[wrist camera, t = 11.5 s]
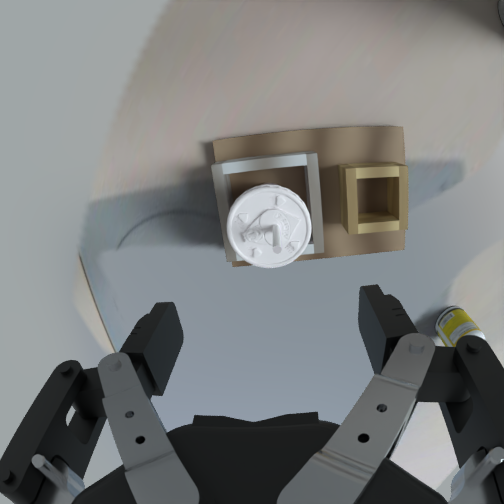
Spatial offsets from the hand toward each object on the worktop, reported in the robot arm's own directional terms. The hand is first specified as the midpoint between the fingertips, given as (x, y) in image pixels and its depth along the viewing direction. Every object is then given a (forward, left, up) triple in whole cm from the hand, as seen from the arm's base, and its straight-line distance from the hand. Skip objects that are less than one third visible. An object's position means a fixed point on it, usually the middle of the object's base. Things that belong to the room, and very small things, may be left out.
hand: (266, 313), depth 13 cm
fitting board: (-5, 0, -22) cm, 22 cm away
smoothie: (0, 0, -21) cm, 21 cm away
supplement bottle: (-25, +20, -22) cm, 39 cm away
